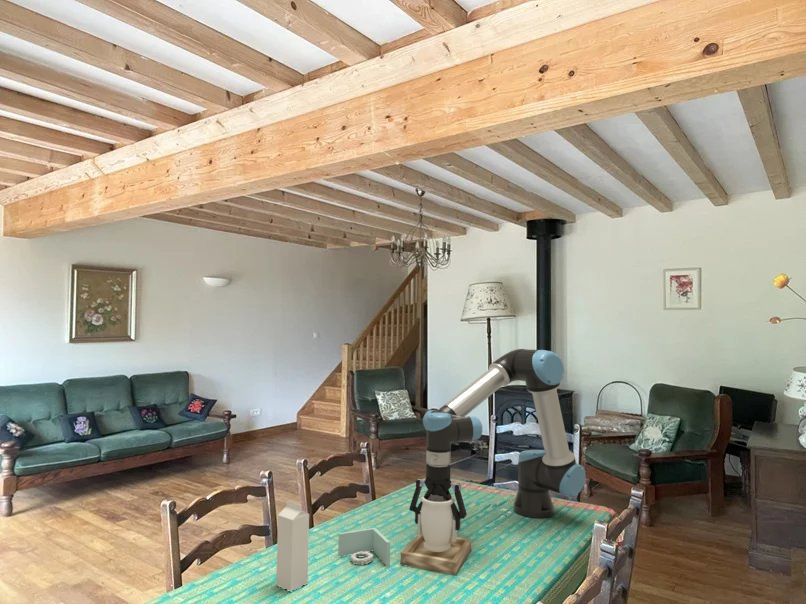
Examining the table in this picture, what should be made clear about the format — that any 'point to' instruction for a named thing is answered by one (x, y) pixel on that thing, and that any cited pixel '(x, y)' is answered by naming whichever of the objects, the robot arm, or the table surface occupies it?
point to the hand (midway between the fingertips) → (437, 537)
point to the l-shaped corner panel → (364, 545)
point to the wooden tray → (436, 556)
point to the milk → (292, 547)
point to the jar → (436, 522)
